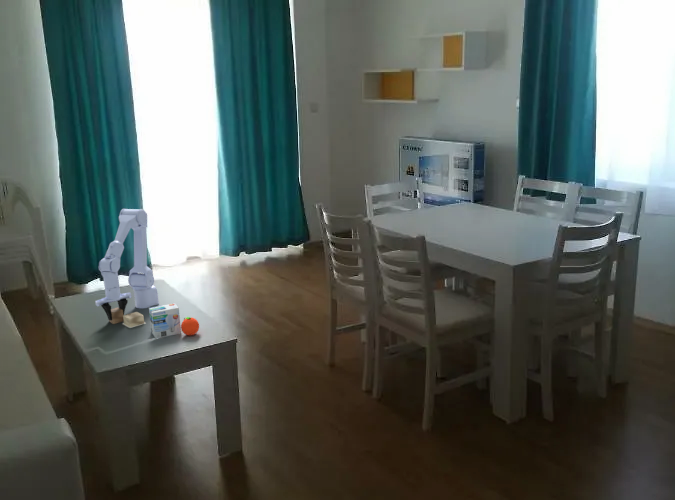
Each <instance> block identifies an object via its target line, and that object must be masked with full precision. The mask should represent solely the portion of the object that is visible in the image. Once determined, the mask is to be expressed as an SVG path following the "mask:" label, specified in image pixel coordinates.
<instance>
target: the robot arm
mask: <svg viewBox="0 0 675 500" xmlns="http://www.w3.org/2000/svg"><path fill="white" fill-rule="evenodd" d="M118 221H119V225H118V228H117V232H116V234H115V238H114V240H113V241H111V242H110V243H109V245H108V247H107V248H108V249H107V250H106V252H105V255H104V257H103V258H102V259H101V260H99V262H98V266H97V267H98V271H100V274H101V277H102V278H103V285H104V293H105V297H102V298H101V299H97V300H94V302H95V306H97V307H101V308H102V310H104V312H105V313H106V317H107V319H108V321H109V320H110V321H111V320H112V315H111V309H112V306H111V304H110V303H114V302H117V304H118V308H120V309H122V310H123V315H125V312H126V311H125V310H126V307H127V304H128V301H129V300H128V299H132V292H125V293H121V289H120V288H121V287H120V280H119V273H118V272H119V270H120V268H121V257H122V255H123V252H124V249H125V246H124V242H125V240H126V238H127V236H128V235H129V233H130V230H131V229H132V231H133V266H132V268H131V269H130V270H129V274H128V277H127V278H128V279H127V280H128V285H129V287H131V289H132V290H133V295H134V296H133V297H134V304H135V308H137V309H147V308H148V309H149V308H152V307H154V306H156V305H157V306H158V305H159V303H160V302H159V295H158V294H159V293H158V289H157V287H156V286H155V285H154V284H155V277H154V273H153V272H154V271H153V270H152V269H151V268H150V267H149V266H148V259H147V257H148V256H147V254H148V253H147V252H148V250H147V249H148V248H147V242H148V241H147V228H148V213H147V212H146V211H145V210H144V209H143V208H140V209H136V208H135V209H134V208H132V209H131V208H129V209H128V208H122V209H121V210H120V212H119V216H118Z"/></svg>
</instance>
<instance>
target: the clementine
mask: <svg viewBox="0 0 675 500" xmlns="http://www.w3.org/2000/svg"><path fill="white" fill-rule="evenodd" d="M180 326H181V332H182V334H183V333H184V334H185V335H186V336H194V335H196V334H197V333H198V331H199V329H200V323H199V321H198V320H197V319H196V318H194V317H191V316H187V317H184V318H183V320H182V322H181V323H180Z"/></svg>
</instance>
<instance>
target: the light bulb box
mask: <svg viewBox="0 0 675 500" xmlns="http://www.w3.org/2000/svg"><path fill="white" fill-rule="evenodd" d="M148 312H149V313H148V314H149V323H150V331H151V334H152V335H153V337H154V339H159V338H166V337H171V336H174V335H175V336H176V335H182V330H181V317H180V307H178V305H177V304H176V303H175V302H174V303H170V304H169V303H168V304H163V305H157V306H151V307H148Z"/></svg>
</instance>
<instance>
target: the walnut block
mask: <svg viewBox="0 0 675 500" xmlns="http://www.w3.org/2000/svg"><path fill="white" fill-rule="evenodd" d="M111 315H112V320H111V321H110V320H108V322H109V323H111V324H112V325H115V324H119V323H124V319H123V310H122V309H120V308H119V307H114V308H111Z"/></svg>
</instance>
